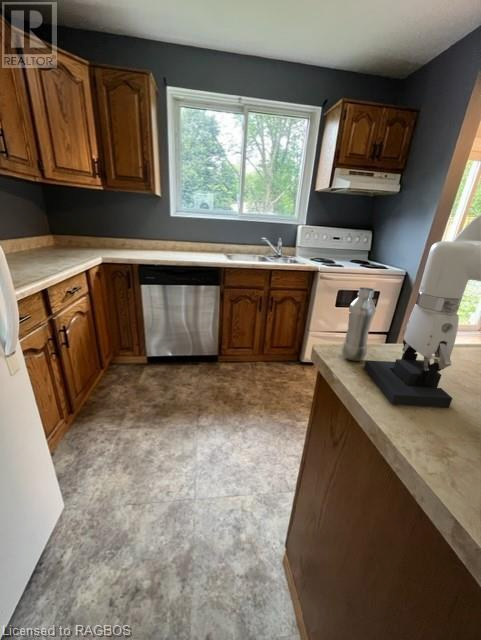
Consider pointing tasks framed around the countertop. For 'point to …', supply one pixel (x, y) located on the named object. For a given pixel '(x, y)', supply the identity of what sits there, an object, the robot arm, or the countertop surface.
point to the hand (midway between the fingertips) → (414, 375)
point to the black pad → (412, 372)
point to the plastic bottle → (359, 325)
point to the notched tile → (404, 387)
